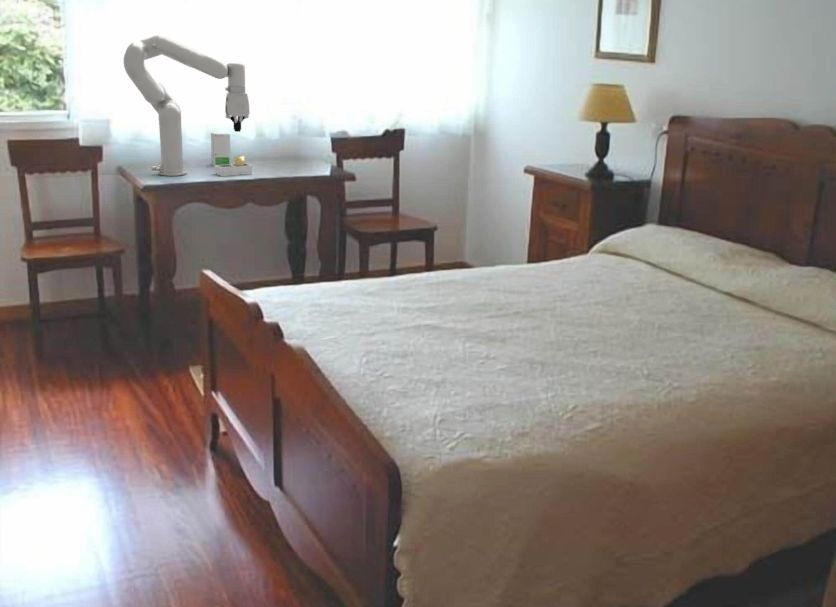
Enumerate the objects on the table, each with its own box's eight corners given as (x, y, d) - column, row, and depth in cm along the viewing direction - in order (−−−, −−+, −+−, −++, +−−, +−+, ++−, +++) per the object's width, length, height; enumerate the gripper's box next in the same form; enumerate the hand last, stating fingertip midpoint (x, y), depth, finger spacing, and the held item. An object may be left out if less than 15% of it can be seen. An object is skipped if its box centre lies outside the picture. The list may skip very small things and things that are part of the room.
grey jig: (221, 176, 420) (220, 167, 418) (214, 173, 426) (213, 164, 425) (251, 174, 428) (251, 165, 427) (244, 171, 434) (244, 162, 433)
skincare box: (214, 166, 447) (212, 133, 442) (211, 164, 452) (209, 132, 448) (231, 166, 450) (230, 133, 445) (228, 164, 456) (227, 131, 451)
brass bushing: (237, 174, 426) (236, 156, 423) (233, 173, 429) (233, 155, 427) (246, 174, 428) (245, 156, 426) (242, 172, 432) (242, 155, 429)
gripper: (224, 90, 411) (225, 132, 417) (255, 90, 419) (256, 131, 425) (217, 89, 417) (218, 130, 423) (248, 89, 425) (249, 130, 431)
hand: (237, 131), depth 424 cm, fingers closed
